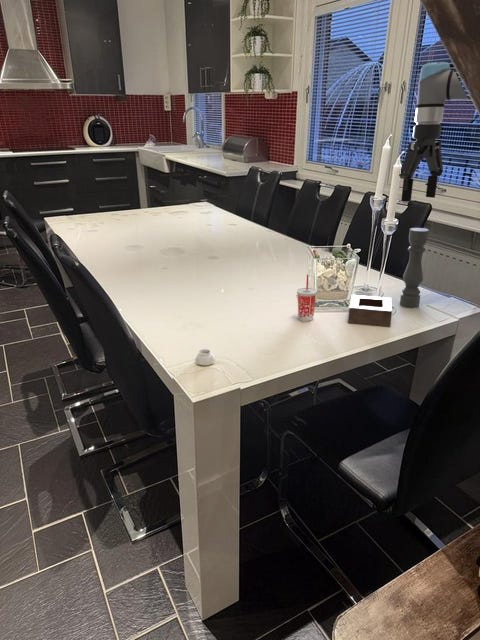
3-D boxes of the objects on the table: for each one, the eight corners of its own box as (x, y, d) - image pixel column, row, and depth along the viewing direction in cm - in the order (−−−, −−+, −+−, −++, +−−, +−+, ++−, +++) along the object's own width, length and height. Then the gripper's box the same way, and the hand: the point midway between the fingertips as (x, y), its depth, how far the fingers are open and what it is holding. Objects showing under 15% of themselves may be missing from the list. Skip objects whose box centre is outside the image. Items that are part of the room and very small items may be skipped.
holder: (389, 312, 148) (391, 297, 146) (390, 327, 137) (392, 311, 135) (350, 309, 151) (351, 294, 149) (347, 323, 140) (349, 307, 139)
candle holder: (416, 309, 151) (427, 232, 141) (397, 305, 154) (406, 230, 145) (421, 303, 156) (431, 228, 146) (402, 300, 159) (411, 226, 149)
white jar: (202, 356, 121) (191, 363, 117) (202, 345, 120) (190, 353, 116) (219, 360, 118) (207, 368, 115) (218, 349, 117) (207, 357, 113)
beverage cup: (310, 313, 148) (313, 271, 143) (318, 320, 143) (321, 276, 137) (292, 315, 147) (294, 272, 141) (300, 322, 141) (301, 278, 136)
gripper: (438, 124, 144) (428, 194, 152) (391, 124, 130) (383, 202, 138) (461, 123, 139) (450, 196, 147) (416, 123, 124) (406, 204, 132)
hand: (418, 199), depth 142 cm, fingers open, 13 cm apart
